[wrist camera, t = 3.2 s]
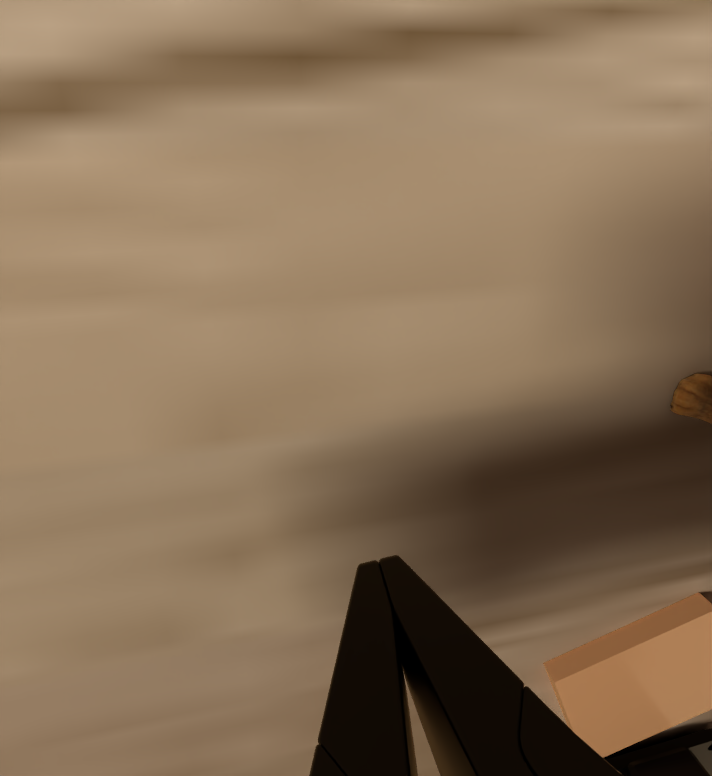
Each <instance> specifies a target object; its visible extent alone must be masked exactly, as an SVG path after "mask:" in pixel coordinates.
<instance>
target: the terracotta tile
mask: <svg viewBox="0 0 712 776" xmlns="http://www.w3.org/2000/svg"><path fill="white" fill-rule="evenodd" d="M543 664H544V666H545V669H546V671H547V674H548V677H549V679H550V682H551V684H552V687H553V689H554V692H555V695H556V697H557V700H558V702H559V705H560V707H561V710H562V712H563V715H564V718H565V720H566V723H567V725H568V727H569V728H570V729H571V730H572V731H573V732H574V733H575V734H576V735H578V736H579V737H580V738H581V739H582V740H583V741H584V742H585V743H587V744H588V745H589V746H590V747H591V748H592V749H593V750H595V751H596V752H597V753H598V754H599V755H600V756H601V757H603V758H604V757H606V756H608V755H610V754H613V753H615V752H617V751H619V750H622V749H624V748H626V747H628V746H630V745H633V744H635V743H637V742H639V741H642V740H644V739H646V738H648V737H651V736H653V735H655V734H657V733H659V732H662V731H664V730H666V729H668V728H671V727H673V726H675V725H677V724H680V723H682V722H684V721H686V720H689V719H691V718H693V717H695V716H697V715H700V714H702V713H704V712H706V711H709V710H711V709H712V604H711V603H710V602H709V601H708V600H707V599H706V598H705V597H703V596H702V595H701V594H700V593H699V592H698V593H696V594H694V595H692V596H690V597H687V598H685V599H683V600H681V601H679V602H676V603H674V604H672V605H670V606H668V607H665V608H663V609H661V610H659V611H657V612H654V613H652V614H650V615H648V616H646V617H644V618H641V619H639V620H637V621H635V622H633V623H630V624H628V625H626V626H624V627H622V628H619V629H617V630H615V631H613V632H611V633H608V634H606V635H604V636H602V637H600V638H598V639H595V640H593V641H591V642H589V643H587V644H584V645H582V646H580V647H578V648H576V649H573V650H571V651H569V652H567V653H565V654H562V655H560V656H558V657H556V658H554V659H551V660H549V661H547V662H545V663H543Z"/></svg>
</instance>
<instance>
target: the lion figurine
mask: <svg viewBox="0 0 712 776" xmlns="http://www.w3.org/2000/svg"><path fill="white" fill-rule="evenodd" d="M670 406H671V411H672V412H674V413H676V414H678V415H683V416H689V417H694V418H698V419H701V420H704V421H706V422H709V423H711V424H712V376H710V375H706V374H697V373H696V374H693V375H691V376H689V377H687V378H685V379H682V380H681V381H680V382H679V384H678V387H677V388H676V390H675V391H674V395H673V401H672V403H671V405H670Z"/></svg>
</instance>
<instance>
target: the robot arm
mask: <svg viewBox="0 0 712 776" xmlns="http://www.w3.org/2000/svg"><path fill="white" fill-rule="evenodd" d="M403 671H404V673H403ZM404 675H405V678H406V681H407V684H408V687H409V690H410V693H411V696H412V699H413V701H414V704H415V707H416V710H417V712H418V715H419V718H420V721H421V723H422V726H423V729H424V732H425V734H426V737H427V740H428V743H429V745H430V748H431V751H432V754H433V756H434V759H435V762H436V764H437V767H438V770H439V773H440V775H441V776H712V729H706V730H703V731H699V732H696V733H693V734H689V735H686V736H683V737H679V738H676V739H673V740H669V741H666V742H663V743H660V744H656V745H653V746H650V747H646V748H643V749H640V750H636V751H633V752H630V753H626V754H623V755H620V756H616V757H613V758H610V759H606V760H605V759H604V758H603V757H601V756H600V755H599V754H598V753H597V752H596V751H595V750H593V749H592V748H591V747H590V746H589V745H588V744H587V743H585V742H584V741H583V740H582V739H581V738H580V737H579V736H578V735H576V734H575V733H574V732H573V731H572V730H571V729H570V728H569V727H568V726H567V725H566V724H565V723H564V722H563V721H562V720H561V719H560V718H559V717H558V716H557V715H556V714H555V713H554V712H553V711H551V710H550V709H549V708H548V707H547V706H546V705H545V704H544V703H543V702H542V701H541V700H540V699H539V698H538V697H537V696H536V694H535V693H534V692H533V691H532V690H531V689H530V688H529V687H527V686H526V687H524V683H523V682H522V681H521V680H520V679H519V678H518V676H517V675H516V674H515V673H514V672H513V671H512V670H511V669H510V668H509V667H508V666H507V665H506V664H505V663H504V662H503V661H502V660H501V659H500V658H499V657H498V656H497V655H496V654H495V653H494V652H493V651H492V650H491V649H490V648H489V647H488V646H487V645H486V644H485V643H484V642H483V641H482V640H481V639H480V638H479V637H478V636H477V635H476V634H475V633H474V632H473V631H472V630H471V629H470V628H469V627H468V626H467V625H466V624H465V623H464V622H463V621H462V620H461V619H460V618H459V617H458V616H457V614H456V613H455V612H454V611H453V610H452V609H451V608H450V607H449V606H448V605H447V604H446V603H445V602H444V601H443V600H442V599H441V598H440V597H439V596H438V595H437V594H436V593H435V592H434V591H433V590H432V589H431V588H430V587H429V586H428V585H427V584H426V583H425V582H424V581H423V580H422V579H421V578H420V577H419V576H418V575H417V574H416V573H415V572H414V571H413V570H412V569H411V568H410V567H409V566H408V565H407V564H406V563H405V562H404V561H403V560H402V559H401V558H400V557H399V556H397V555H394V556H390V557H386V558H382V559H380V560H379V563H378V561H376V560H374V561H370V562H366V563H362V564H359V566H358V568H357V571H356V576H355V580H354V584H353V589H352V593H351V597H350V602H349V606H348V611H347V615H346V619H345V624H344V628H343V632H342V637H341V641H340V645H339V650H338V654H337V659H336V663H335V667H334V672H333V676H332V680H331V685H330V689H329V693H328V698H327V702H326V706H325V711H324V715H323V720H322V724H321V728H320V733H319V737H318V743H319V745H317V746H316V749H315V753H314V758H313V762H312V766H311V771H310V775H309V776H418V773H417V765H416V758H415V751H414V743H413V736H412V728H411V721H410V713H409V706H408V698H407V691H406V685H405V679H404Z"/></svg>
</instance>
